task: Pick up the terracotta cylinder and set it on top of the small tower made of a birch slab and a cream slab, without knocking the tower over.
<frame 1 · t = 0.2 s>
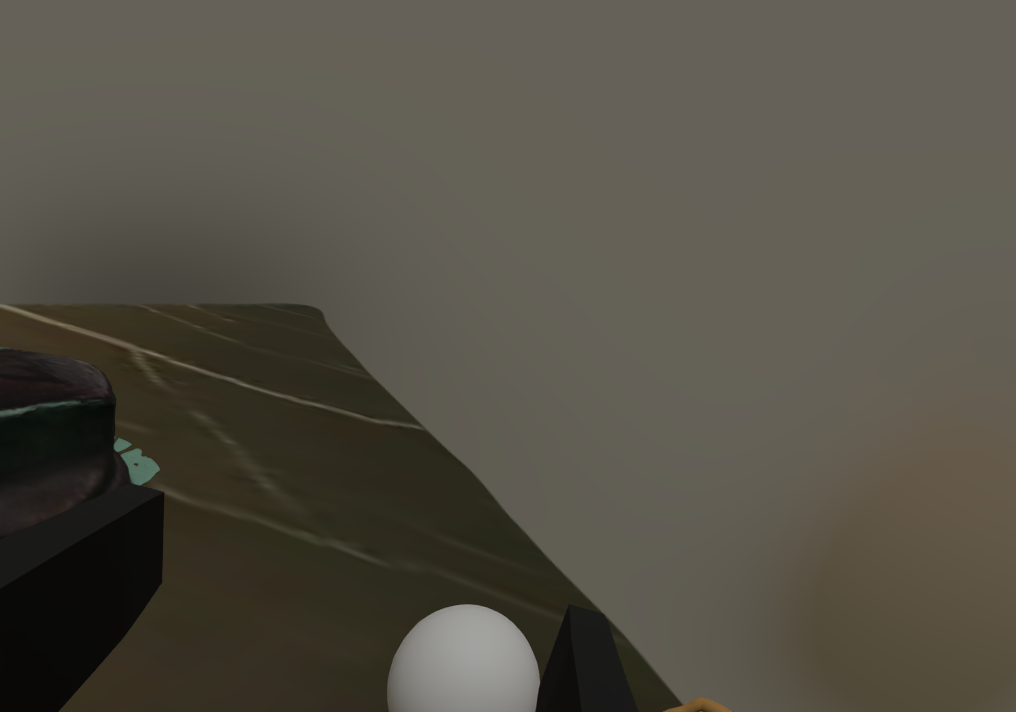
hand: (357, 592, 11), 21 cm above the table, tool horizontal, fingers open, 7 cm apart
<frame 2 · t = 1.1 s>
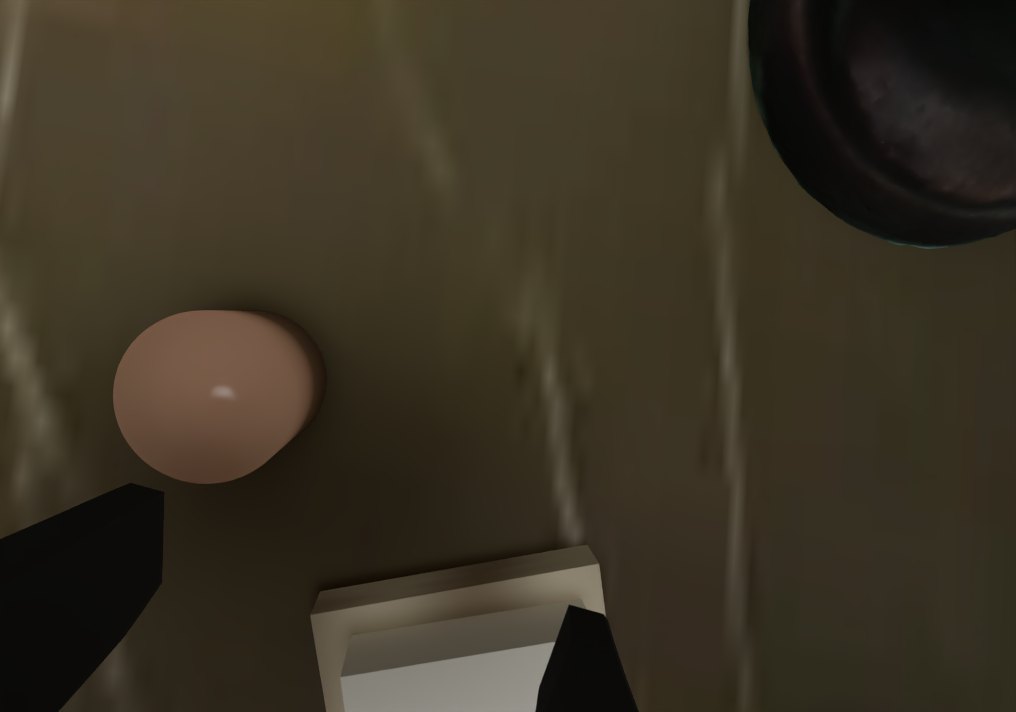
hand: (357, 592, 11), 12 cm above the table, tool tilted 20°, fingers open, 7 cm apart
terracotta cylinder: (256, 378, 22), on the table
birch slab: (473, 683, 25), on the table, touching cream slab
black hat: (928, 39, 25), on the table
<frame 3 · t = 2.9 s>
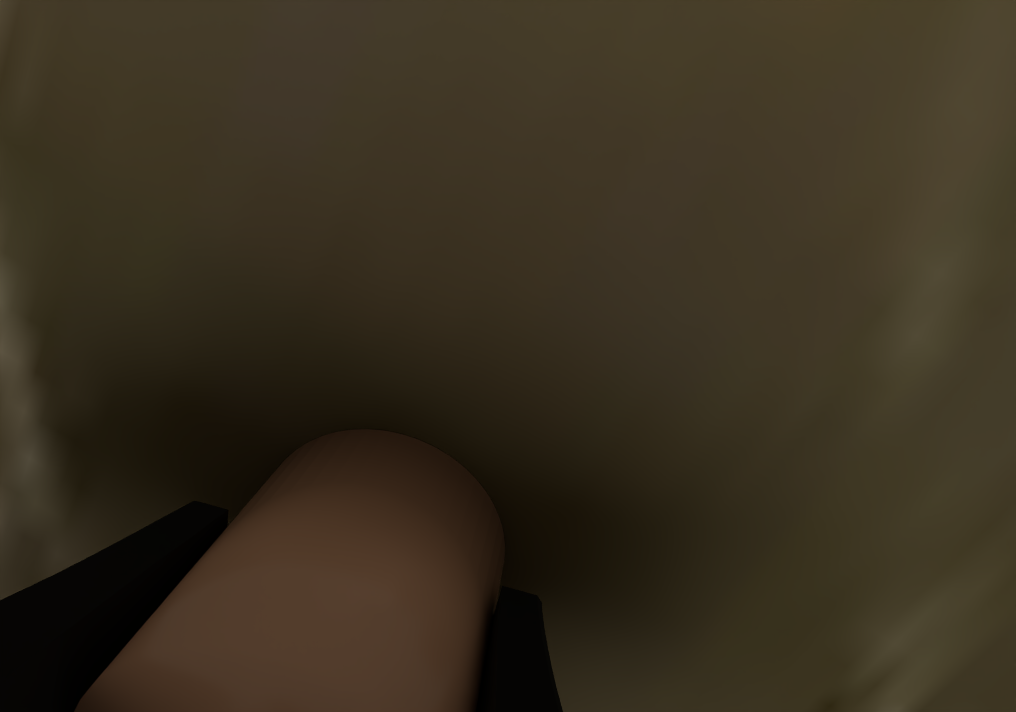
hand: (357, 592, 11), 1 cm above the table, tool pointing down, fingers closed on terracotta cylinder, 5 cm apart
terracotta cylinder: (382, 539, 12), on the table, touching gripper
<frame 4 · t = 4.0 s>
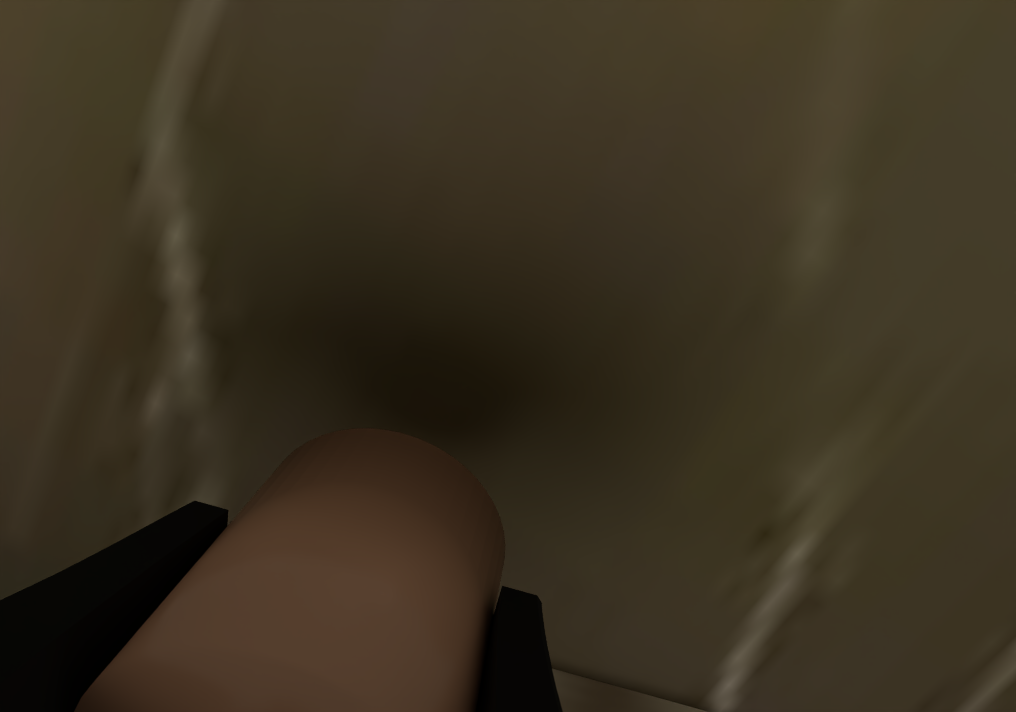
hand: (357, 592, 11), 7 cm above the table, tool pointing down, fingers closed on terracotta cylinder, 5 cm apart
terracotta cylinder: (382, 538, 12), point 5 cm above the table, touching gripper
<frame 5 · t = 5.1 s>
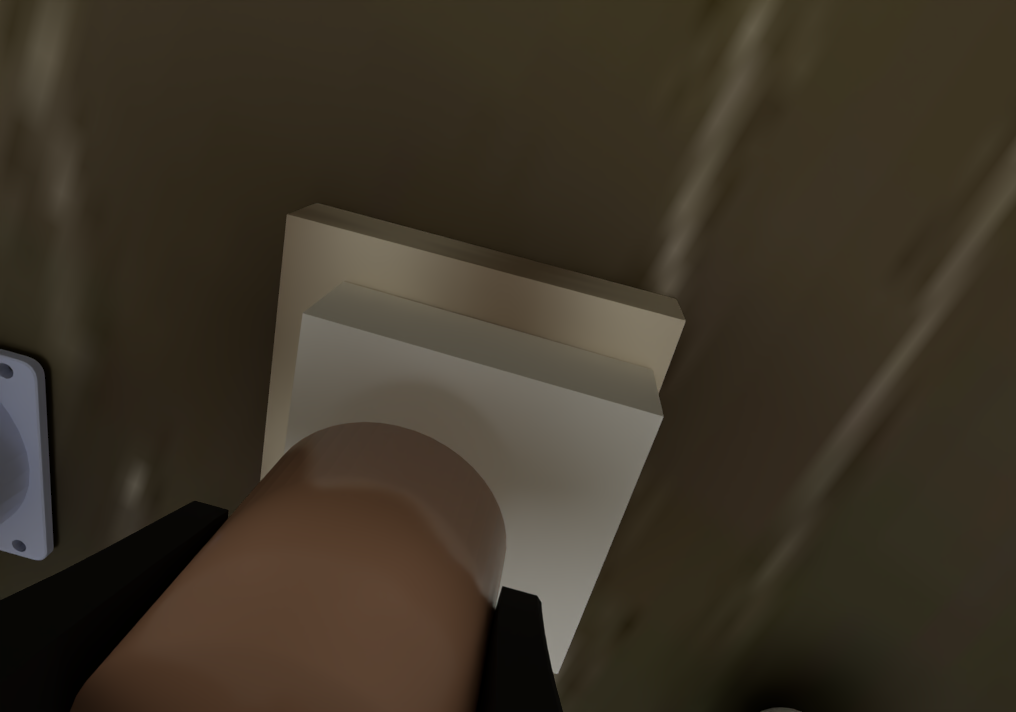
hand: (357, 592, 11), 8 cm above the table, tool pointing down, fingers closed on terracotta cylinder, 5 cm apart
terracotta cylinder: (382, 533, 12), point 7 cm above the table, touching gripper
birch slab: (461, 400, 20), on the table, touching cream slab
lightbulb: (774, 709, 22), on the table
cream slab: (462, 456, 17), point 2 cm above the table, touching birch slab
when the fingers open (7 cm above the table, at t = 6.0 s): terracotta cylinder drops 2 cm, resting on cream slab.
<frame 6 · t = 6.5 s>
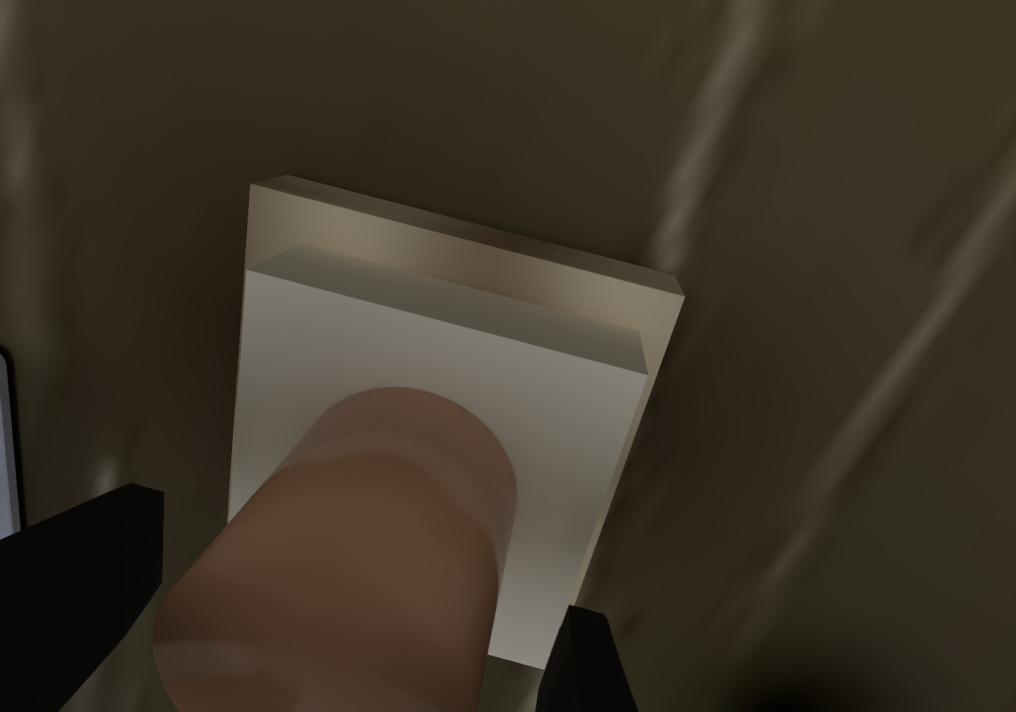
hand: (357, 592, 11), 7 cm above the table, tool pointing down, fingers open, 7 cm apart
terracotta cylinder: (407, 488, 14), point 4 cm above the table, touching cream slab
birch slab: (446, 389, 18), on the table, touching cream slab
cream slab: (436, 434, 16), point 2 cm above the table, touching birch slab, terracotta cylinder
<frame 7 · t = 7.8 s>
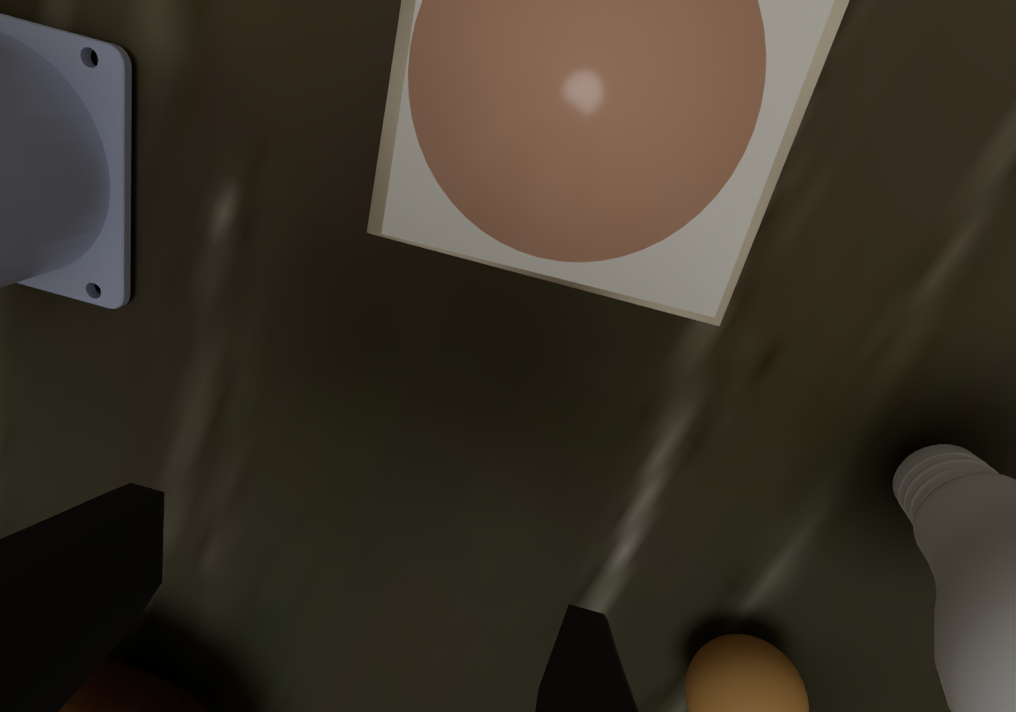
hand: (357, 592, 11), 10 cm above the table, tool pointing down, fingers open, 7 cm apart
figurine: (740, 666, 24), on the table
butternut squash: (134, 691, 29), on the table
terracotta cylinder: (586, 90, 13), point 4 cm above the table, touching cream slab
birch slab: (593, 87, 18), on the table, touching cream slab
lightbulb: (921, 462, 20), on the table
cream slab: (592, 94, 16), point 2 cm above the table, touching birch slab, terracotta cylinder
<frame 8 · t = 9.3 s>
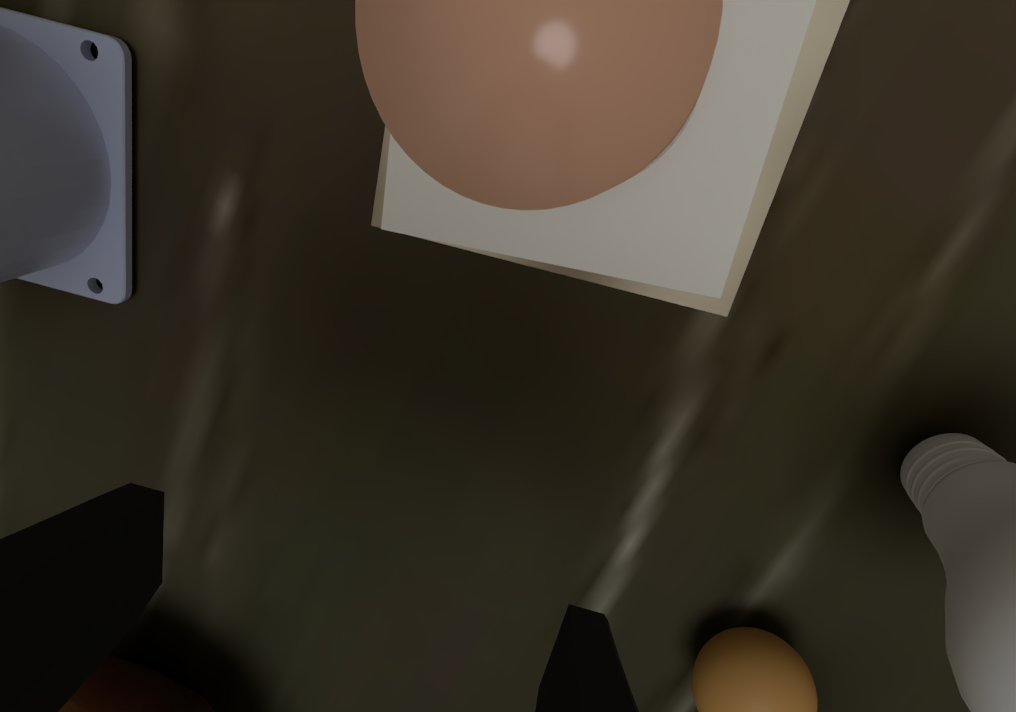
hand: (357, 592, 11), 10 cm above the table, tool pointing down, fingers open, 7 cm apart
figurine: (747, 659, 24), on the table
butternut squash: (139, 689, 29), on the table
terracotta cylinder: (581, 67, 13), point 5 cm above the table, tilted 9°, touching cream slab
birch slab: (597, 78, 18), on the table, touching cream slab
lightbulb: (928, 452, 20), on the table
cream slab: (587, 80, 15), point 2 cm above the table, touching birch slab, terracotta cylinder
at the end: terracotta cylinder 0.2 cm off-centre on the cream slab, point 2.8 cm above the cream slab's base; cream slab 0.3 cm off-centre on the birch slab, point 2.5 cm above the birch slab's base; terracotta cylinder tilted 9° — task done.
